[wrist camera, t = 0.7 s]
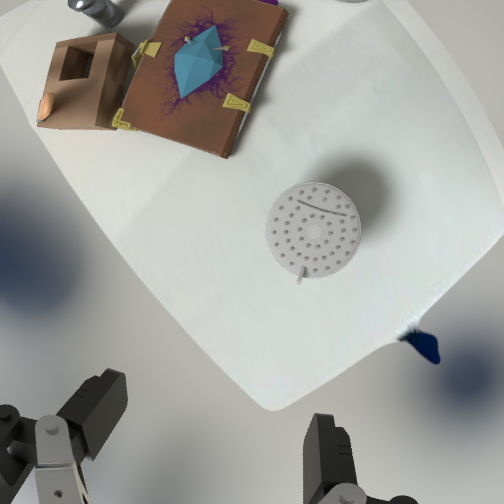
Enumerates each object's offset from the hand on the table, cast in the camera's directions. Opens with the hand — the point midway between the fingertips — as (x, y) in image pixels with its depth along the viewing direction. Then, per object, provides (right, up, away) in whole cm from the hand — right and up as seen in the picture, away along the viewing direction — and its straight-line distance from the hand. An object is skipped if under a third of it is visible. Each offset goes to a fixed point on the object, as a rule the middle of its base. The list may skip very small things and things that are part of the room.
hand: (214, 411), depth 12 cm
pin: (-18, +39, +20) cm, 47 cm away
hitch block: (-20, +29, +23) cm, 41 cm away
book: (-4, +31, +21) cm, 38 cm away
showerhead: (+8, +10, +25) cm, 28 cm away
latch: (-22, +23, +16) cm, 36 cm away
